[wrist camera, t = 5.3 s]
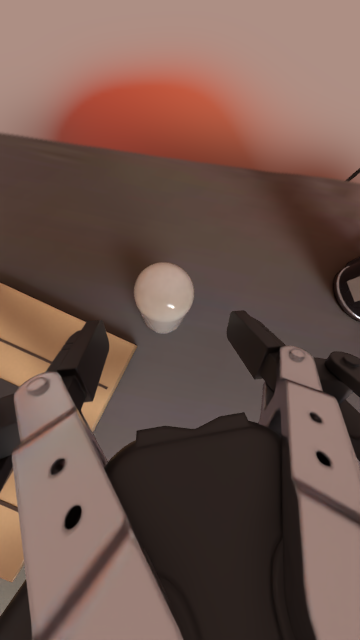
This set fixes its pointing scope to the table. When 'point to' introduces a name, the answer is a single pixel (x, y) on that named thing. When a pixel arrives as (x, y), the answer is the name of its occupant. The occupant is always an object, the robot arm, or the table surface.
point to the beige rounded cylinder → (163, 296)
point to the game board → (28, 361)
